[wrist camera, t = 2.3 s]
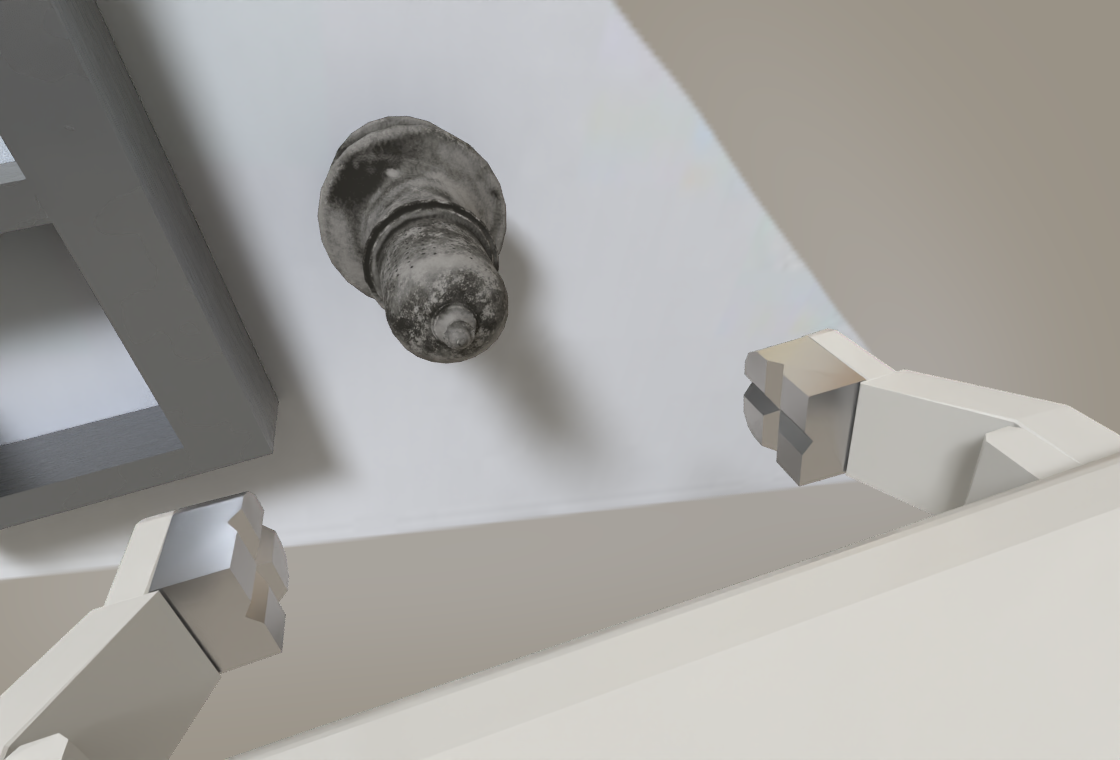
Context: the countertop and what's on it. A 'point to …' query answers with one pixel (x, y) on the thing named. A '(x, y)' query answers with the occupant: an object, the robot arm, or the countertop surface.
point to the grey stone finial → (419, 234)
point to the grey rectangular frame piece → (119, 271)
